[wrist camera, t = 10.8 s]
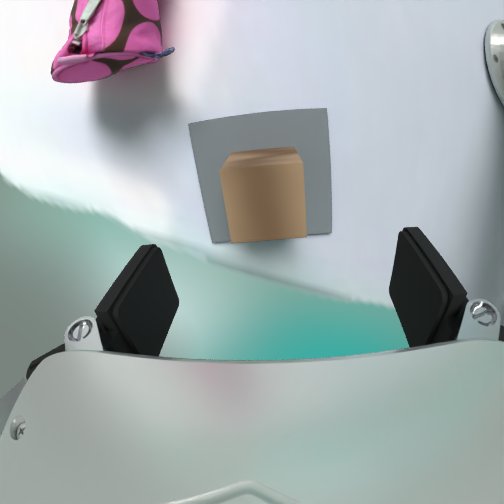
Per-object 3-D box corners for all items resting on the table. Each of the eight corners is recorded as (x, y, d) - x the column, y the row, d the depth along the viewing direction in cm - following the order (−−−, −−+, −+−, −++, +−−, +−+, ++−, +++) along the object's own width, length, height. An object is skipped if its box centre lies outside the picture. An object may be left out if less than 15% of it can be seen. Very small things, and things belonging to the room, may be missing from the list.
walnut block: (293, 146, 21) (302, 162, 15) (298, 204, 23) (306, 237, 18) (231, 152, 21) (219, 170, 16) (239, 209, 24) (231, 243, 19)
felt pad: (325, 108, 19) (326, 108, 19) (330, 230, 25) (331, 232, 24) (189, 123, 20) (188, 124, 20) (213, 240, 26) (212, 242, 26)
